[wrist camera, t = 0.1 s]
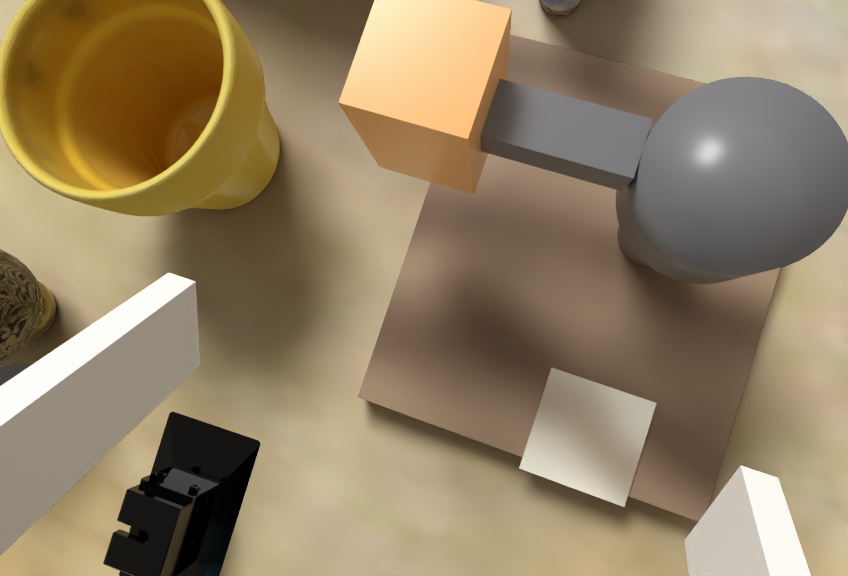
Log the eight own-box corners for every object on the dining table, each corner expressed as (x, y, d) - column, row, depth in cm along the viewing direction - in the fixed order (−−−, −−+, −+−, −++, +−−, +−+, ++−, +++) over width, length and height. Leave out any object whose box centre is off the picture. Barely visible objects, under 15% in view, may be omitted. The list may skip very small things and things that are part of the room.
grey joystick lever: (802, 152, 20) (932, 72, 14) (755, 306, 20) (868, 292, 14) (419, 51, 22) (393, -53, 16) (371, 189, 22) (327, 134, 16)
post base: (688, 523, 26) (769, 599, 19) (361, 403, 29) (314, 426, 21) (808, 126, 27) (933, 41, 20) (483, 43, 30) (480, -61, 22)
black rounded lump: (172, 378, 31) (117, 385, 26) (290, 418, 30) (254, 432, 25) (102, 596, 30) (33, 641, 26) (221, 645, 29) (171, 701, 25)
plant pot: (308, 247, 30) (220, 203, 20) (133, 242, 31) (-27, 198, 22) (320, 66, 31) (243, -59, 21) (150, 68, 32) (4, -49, 22)
